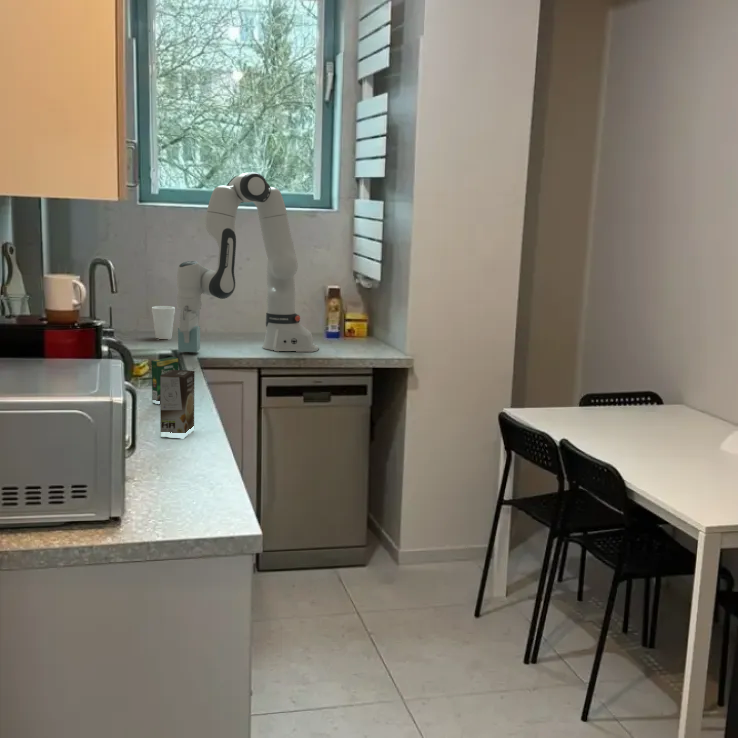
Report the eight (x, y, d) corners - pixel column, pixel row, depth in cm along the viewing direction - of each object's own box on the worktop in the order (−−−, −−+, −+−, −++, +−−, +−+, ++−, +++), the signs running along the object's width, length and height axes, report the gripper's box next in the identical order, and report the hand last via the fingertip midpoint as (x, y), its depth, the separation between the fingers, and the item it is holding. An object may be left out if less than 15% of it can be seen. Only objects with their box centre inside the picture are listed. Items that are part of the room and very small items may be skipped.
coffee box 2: (157, 405, 259) (156, 360, 257) (151, 403, 261) (150, 359, 259) (179, 401, 265) (179, 357, 263) (173, 399, 267) (173, 356, 265)
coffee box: (184, 439, 225) (184, 377, 222) (159, 438, 226) (159, 375, 223) (195, 430, 234) (195, 370, 231) (171, 429, 235) (170, 368, 232)
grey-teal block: (200, 348, 346) (200, 326, 344) (196, 352, 339) (196, 329, 337) (181, 348, 346) (181, 325, 344) (178, 351, 339) (178, 328, 337)
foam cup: (151, 336, 377) (151, 306, 375) (173, 336, 380) (173, 306, 378) (153, 340, 368) (152, 309, 366) (176, 340, 371) (175, 308, 369)
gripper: (192, 308, 329) (192, 345, 331) (202, 301, 349) (202, 336, 352) (175, 307, 329) (175, 345, 331) (185, 301, 349) (186, 336, 351)
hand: (189, 340), depth 342 cm, fingers closed on grey-teal block, 7 cm apart
